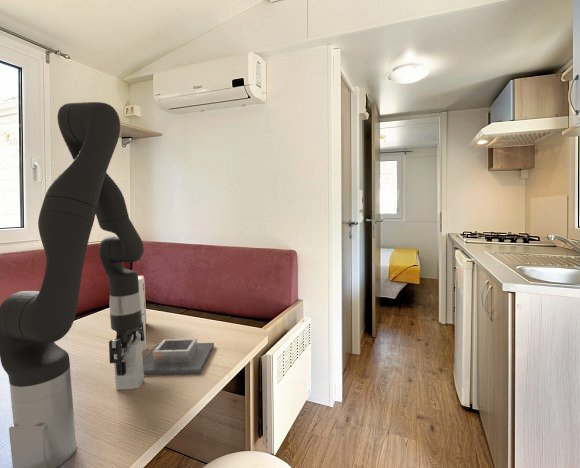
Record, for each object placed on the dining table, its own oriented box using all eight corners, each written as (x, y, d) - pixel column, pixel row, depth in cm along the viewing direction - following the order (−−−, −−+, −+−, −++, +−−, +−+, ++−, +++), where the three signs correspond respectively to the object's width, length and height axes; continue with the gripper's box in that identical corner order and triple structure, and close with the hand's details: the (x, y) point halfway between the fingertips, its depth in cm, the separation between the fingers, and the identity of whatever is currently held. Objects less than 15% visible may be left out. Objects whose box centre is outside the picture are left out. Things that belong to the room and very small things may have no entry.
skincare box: (144, 380, 90) (142, 339, 89) (138, 389, 86) (135, 346, 85) (122, 381, 90) (119, 340, 89) (115, 390, 85) (112, 347, 84)
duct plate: (200, 374, 93) (199, 357, 92) (131, 375, 93) (130, 359, 92) (214, 346, 111) (213, 333, 110) (156, 348, 111) (155, 334, 110)
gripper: (126, 318, 79) (130, 380, 80) (150, 301, 93) (154, 354, 94) (96, 319, 79) (100, 381, 80) (125, 301, 93) (128, 354, 94)
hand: (129, 366), depth 87 cm, fingers open, 8 cm apart
